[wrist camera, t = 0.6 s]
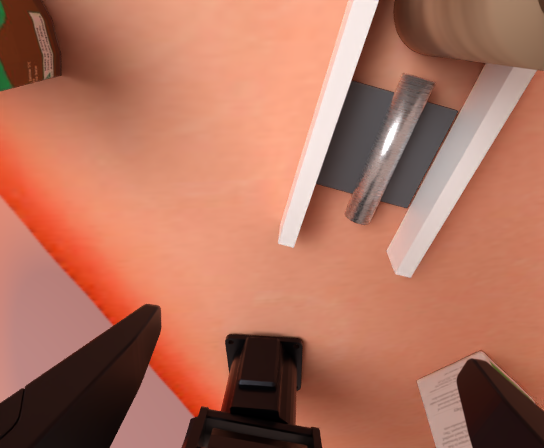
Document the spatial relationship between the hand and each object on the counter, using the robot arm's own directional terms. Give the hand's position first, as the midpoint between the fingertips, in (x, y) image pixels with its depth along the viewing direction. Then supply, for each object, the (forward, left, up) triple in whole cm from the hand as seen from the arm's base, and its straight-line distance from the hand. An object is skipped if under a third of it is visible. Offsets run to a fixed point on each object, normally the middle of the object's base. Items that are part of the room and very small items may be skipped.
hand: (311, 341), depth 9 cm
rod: (+2, -4, -12) cm, 13 cm away
